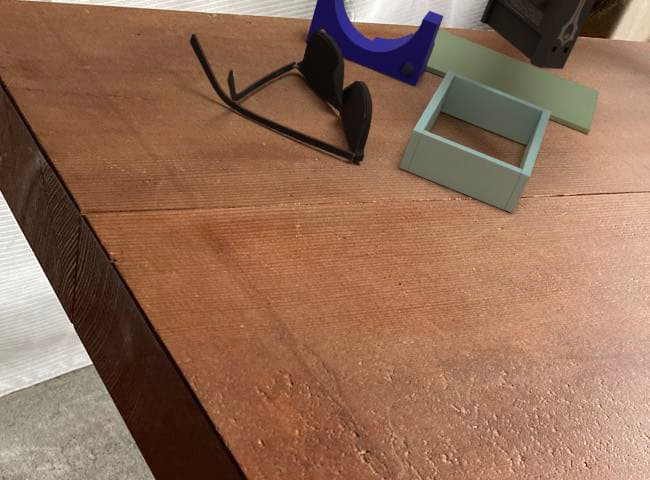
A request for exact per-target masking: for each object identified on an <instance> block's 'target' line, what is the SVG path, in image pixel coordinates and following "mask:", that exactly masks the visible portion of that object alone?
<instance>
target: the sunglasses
mask: <svg viewBox="0 0 650 480" xmlns="http://www.w3.org/2000/svg"><path fill="white" fill-rule="evenodd" d="M189 44H190V46H191V48H192V50H193V52H194V54H195V56H196V58H197V60H198V62H199V64H200V66H201V68H202V69H203V71H204V74H205V75H206V77H207V79H208V81H209V83H210V85H211V88H212V89H214V91H215V93H216V94H217V96H218V97H219V98H220V100H221V101H222V102H224V103H225V104H226V106H227V107H230V108H231V110H234V111H236V112H237V113H239V114H240V115H243V116H244V117H247V118H248V119H251V120H252V121H254V122H256V123H258V124H261V125H263V126H265V127H267V128H269V129H271V130H273V131H276V132H278V133H280V134H283V135H284V136H285V135H286V136H288V137H290V138H292V139H294V140H297V141H299V142H302V143H304V144H307V145H309V146H312V147H314V148H317V149H320V150H322V151H325V152H327V153H328V154H329V153H330V154H333V155H334V156H336V157H337V156H338V157H340V158H343V159H345V160H348V161H353V160H354V162H363V160H364V159H365V148H366V144H367V142H368V137H369V134H370V130H371V125H372V119H373V98H372V95H371V92H370V89H369V87H368V85H367V84H366V82H364V80H363V81H362V80H354V81H353V82H351V83H350V84H349V85H347V86H345V87H344V83H345V82H344V81H345V60H344V59H345V58H343V54H342V51H341V49H340V47H339V46H338V44H337V43H336V41H335V40H334V39H333V38H332V37H331V36H330V35H329V34H327V33H326V32H325V31H324V30H322V31H318V30H316V31H314V32H313V33H312V34H311V35H310V38H309V40H308V43H306V45H305V48H304V54H303V57H302V60H300V61H297V62H296V61H292V62H290V63H287V64H285V65H283V66H281V67H278V68H276V69H274V70H272V71H271V72H269V73H267V74H265V75H263V76H262V77H260V78H258V79H257V80H256V81H254V82H252V83H251V84H249V85H248V86H246V87H244V89H242V90H241V91H238V92H237V90H236V84H235V83H236V82H235V77H234V76H235V75H234V70H233V69H229V71H228V75H227V78H226V82H227V86H228V91H229V95H230V96H228V95H227V93H226V92H225V91H224V89H223V88H222V87H221V85H220V83H219V81H218V79H217V78H216V76H215V73H214V71H213V69H212V67H211V64H210V62H209V60H208V58H207V55H206V54H205V52H204V48H203V47H202V45H201V43H200V40H199V39H198V36H197V34H196V33H192V34H191V36H190V39H189ZM295 69H296V70H297V71H298V72H299V73H300V74H301V75H302V76H303V78H304V80H305V81H306V82H307V83H308V85H309V86H310V87H311V89H312V90H313V91H314V92H315V94H317V95H318V96H319V97H320V98H321V99H323V100H324V101H325V102H326V103H327V104H329V105H330V106H331V107H333V108H334V109H335V110H336V111H337V112H338V114H339V118H340V121H341V124H342V127H343V131H344V133H345V138H346V141H347V144H348V147H349V149H350V150H347V149H344V148H342V147H339V146H337V145H334V144H332V143H330V142H326V141H323V140H321V139H319V138H316V137H314V136H311V135H309V134H306V133H303V132H302V131H298V130H296V129H293V128H292V127H289V126H286V125H283V124H282V123H279V122H276V121H274V120H272V119H270V118H267V117H265V116H262V115H260V114H258V113H256V112H254V111H252V110H250V109H248V108H246V107H244V106H243V105H241V104H240V103H238V102H239V101H240V100H242V99H243V98H245V97H246V96H248V95H249V94H250V93H252V92H253V91H255V90H257V89H258V88H260V87H262V86H264V85H265V84H267V83H268V82H270V81H273V80H275V79H277V78H278V77H280V76H282V75H285V74H287V73H289V72H291V71H293V70H295Z"/></svg>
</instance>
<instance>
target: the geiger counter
mask: <svg viewBox="0 0 650 480" xmlns="http://www.w3.org/2000/svg"><path fill="white" fill-rule="evenodd" d="M595 2H596V0H487V3H486V5H485V9H484V10H483V13H482V15H481V18H480V23H482V24H485V25H487V26H489V27H490V28H491V29H493V30H494V31H495V32H496V33H497V34H498V35H500V36H501V37H502V38H503V39H504V40H506V41H507V42H508V43H509V44H510V45H512V46H513V47H514V48H515V49H517V50H518V51H519V52H520V53H521V54H523V56H525V57H526V58H527V59H528V60H529V64H530V65H532V66H535V67H537V68H540V69H554V70H556V69H558V70H563V69H564V68H565V65H566V63H567V61H568V59H569V57H570V55H571V53H572V51H573V48H574V47H575V44H576V43H577V40H578V38H579V36H580V34H581V33H582V30H583V27H584V26H585V23H586V21H587V19H588V17H589V15H590V13H591V11H592V8H593V7H594V4H595Z"/></svg>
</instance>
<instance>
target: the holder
mask: <svg viewBox="0 0 650 480" xmlns="http://www.w3.org/2000/svg"><path fill="white" fill-rule="evenodd" d="M441 113H444V114H447V115H448V116H451V117H454V118H457V119H459V120H462V121H464V122H466V123H469V124H470V125H471V124H472V125H474V126H476V127H479V128H481V129H483V130H487V131H489V132H491V133H494V134H497V135H499V136H501V137H503V138H507V139H509V140H510V141H511V140H512V141H514V142H516V143H519V144H522V145H524V146H526V147H525V150H524V152H523V156H522V158H521V160H520V164H519V166H515V165H512V164H510V163H508V162H506V161H502V160H501V159H497V158H495V157H492V156H490V155H487V154H485V153H483V152H480V151H477V150H475V149H472V148H471V147H467V146H465V145H462V144H460V143H457V142H455V141H453V140H450V139H447V138H445V137H442V136H440V135H438V134H434V133H432V132H431V130H432V129H433V126H434V124H435V123H436V121H437V119H438V117H439V115H440V114H441ZM550 115H551V111H549V110H546V109H543V108H541V107H539V106H536V105H534V104H531V103H529V102H526V101H524V100H521V99H519V98H516V97H514V96H511V95H509V94H506V93H503V92H501V91H498V90H496V89H493V88H491V87H488V86H486V85H483V84H481V83H478V82H476V81H473V80H471V79H468V78H465V77H463V76H460V75H458V74H455V73H453V72H450V71H448V72H447V74H446V75H445V77H443V79H442V81H441V82H440V84H439V86H438V87H437V89H436V90H435V92H434V94H433V96H432V97H431V99H430V101H429V102H428V104H427V106H426V107H425V109H424V111H423V112H422V114H421V116H420V117H419V119H418V120H417V122H416V124H415V125H414V128H413V129H412V131H411V135H410V138H409V140H408V143H407V145H406V148H405V150H404V153H403V156H402V159H401V161H400V163H399V166H398V167H399V169H401V170H404V171H406V172H409V173H411V174H414V175H416V176H419V177H421V178H423V179H426V180H429V181H431V182H433V183H436V184H438V185H440V186H442V187H445V188H448V189H451V190H453V191H456V192H458V193H461V194H462V195H466V196H468V197H471V198H473V199H475V200H478V201H480V202H483V203H485V204H487V205H491V206H493V207H496V208H498V209H500V210H503V211H505V212H508V213H511V214H513V213H514V211H515V210H516V207H517V205H518V203H519V202H520V199H521V196H522V195H523V192H524V191H525V188H526V187H527V185H528V182H529V180H530V178H531V175H532V173H533V169H534V166H535V163H536V160H537V157H538V154H539V151H540V148H541V145H542V143H543V139H544V136H545V132H546V130H547V127H548V124H549V120H550V119H549V118H550Z"/></svg>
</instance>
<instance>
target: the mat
mask: <svg viewBox="0 0 650 480" xmlns="http://www.w3.org/2000/svg"><path fill="white" fill-rule="evenodd" d="M434 43H435V45H434V48H433V50H432V53H431V56H430V59H429V61H428V64H427V67H426V70H425V72H426V71H427V72H429V73H432V74H434V75H436V76H439V77H442V78H444V77H445V75H446V74H447V72H448V71H450V72H453V73H455V74H458V75H460V76H463V77H465V78H468V79H471V80H473V81H476V82H478V83H481V84H483V85H486V86H488V87H491V88H493V89H496V90H498V91H501V92H503V93H506V94H509V95H511V96H514V97H516V98H519V99H521V100H524V101H526V102H529V103H531V104H534V105H536V106H539V107H541V108H543V109H546V110H549V111H551V115H550V118H549V120H550V121H553V122H556V123H558V124H561V125H563V126H565V127H567V128H571V129H572V130H576V131H578V132H580V133H583V134H586V135H588V134H589V133H590V131H591V126H592V123H593V119H594V114H595V111H596V107H597V102H598V98H599V95H600V91H598V90H596V89H594V88H591V87H588V86H586V85H584V84H580V83H578V82H576V81H573V80H571V79H568V78H565V77H563V76H560V75H558V74H555V73H552V72H551V71H548V70H544V69H543V68H539V67H537V66H534V65H532V64H531V63H528V62H524V61H522V60H520V59H517V58H515V57H513V56H509V55H507V54H504V53H501V52H499V51H497V50H494V49H491V48H489V47H486V46H484V45H481V44H479V43H476V42H473V41H471V40H469V39H466V38H463V37H461V36H458V35H456V34H453V33H451V32H449V31H446V30H444V29H440V28H439V30H438V33H437V36H436V38H435V41H434Z"/></svg>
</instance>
